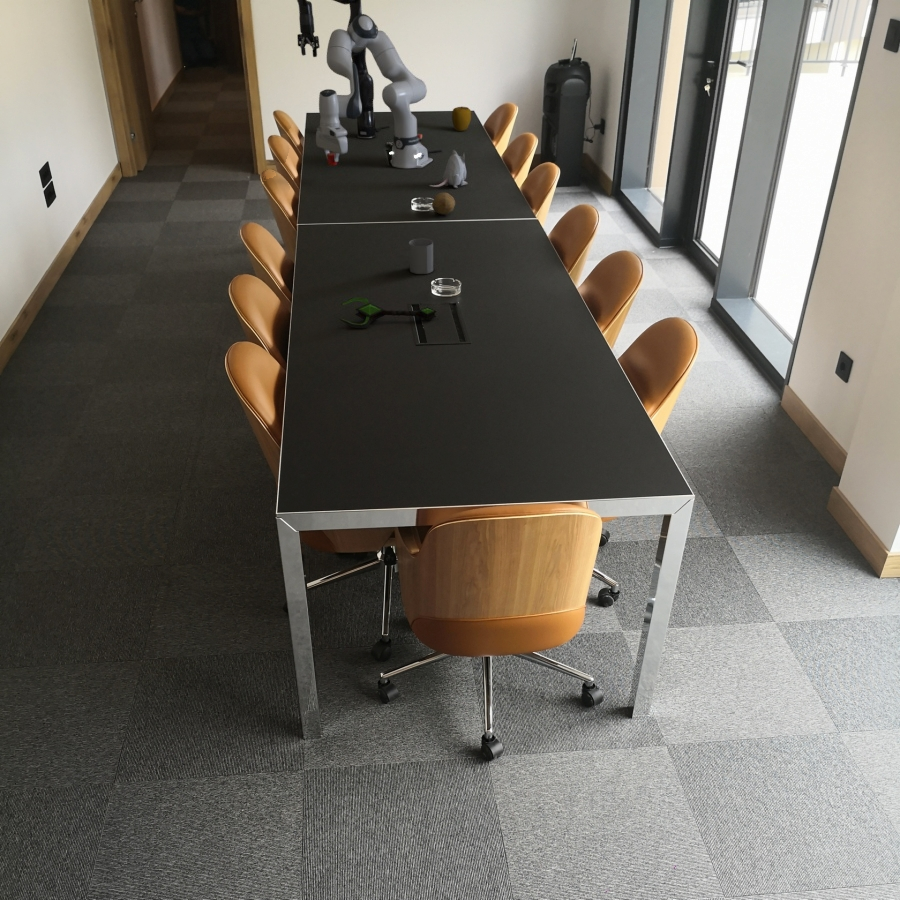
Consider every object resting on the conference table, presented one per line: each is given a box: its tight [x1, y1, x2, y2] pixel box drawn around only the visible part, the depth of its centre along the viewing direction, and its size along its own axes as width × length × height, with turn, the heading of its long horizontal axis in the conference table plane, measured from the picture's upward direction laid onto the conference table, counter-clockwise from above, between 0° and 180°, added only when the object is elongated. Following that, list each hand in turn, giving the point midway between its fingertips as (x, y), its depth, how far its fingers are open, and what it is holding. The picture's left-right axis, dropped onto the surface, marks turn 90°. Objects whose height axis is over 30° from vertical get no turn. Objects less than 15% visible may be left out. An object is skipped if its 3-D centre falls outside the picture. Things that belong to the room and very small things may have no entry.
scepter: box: [339, 296, 438, 329], centre depth 270 cm, size 6×13×30 cm
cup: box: [408, 237, 434, 275], centre depth 305 cm, size 8×8×10 cm
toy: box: [428, 149, 468, 189], centre depth 390 cm, size 9×24×15 cm, turn 137°
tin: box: [326, 152, 338, 166], centre depth 398 cm, size 4×4×4 cm
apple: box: [451, 105, 472, 132], centre depth 487 cm, size 11×11×13 cm
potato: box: [431, 192, 456, 216], centre depth 360 cm, size 10×14×8 cm
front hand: (332, 160), depth 398 cm, fingers closed on tin, 4 cm apart
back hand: (309, 56), depth 472 cm, fingers open, 8 cm apart
